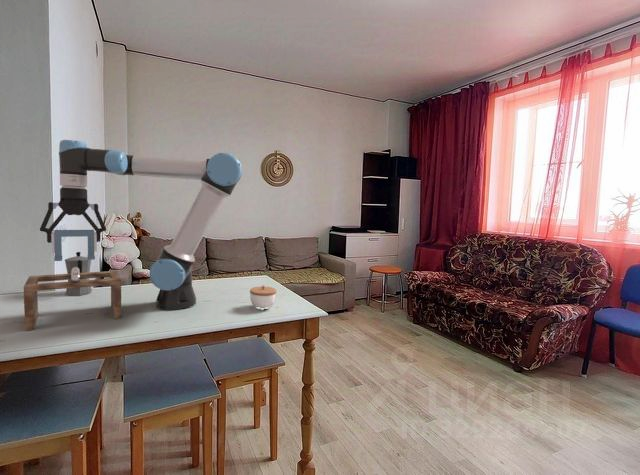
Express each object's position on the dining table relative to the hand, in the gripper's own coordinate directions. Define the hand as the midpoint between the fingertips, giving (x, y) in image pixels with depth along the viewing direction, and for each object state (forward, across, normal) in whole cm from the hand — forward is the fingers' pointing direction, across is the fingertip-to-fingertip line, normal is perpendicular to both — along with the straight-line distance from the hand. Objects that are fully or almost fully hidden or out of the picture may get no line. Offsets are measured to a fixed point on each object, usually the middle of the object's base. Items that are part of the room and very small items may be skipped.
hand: (74, 251), depth 118 cm
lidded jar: (+23, +63, -19) cm, 70 cm away
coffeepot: (+23, +1, +32) cm, 40 cm away
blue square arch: (+3, 0, 0) cm, 3 cm away
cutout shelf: (+23, 0, 0) cm, 23 cm away
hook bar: (+9, 0, 0) cm, 9 cm away
